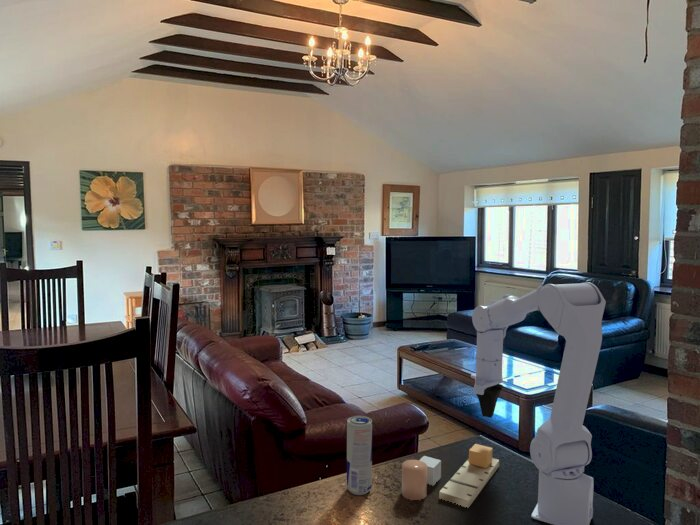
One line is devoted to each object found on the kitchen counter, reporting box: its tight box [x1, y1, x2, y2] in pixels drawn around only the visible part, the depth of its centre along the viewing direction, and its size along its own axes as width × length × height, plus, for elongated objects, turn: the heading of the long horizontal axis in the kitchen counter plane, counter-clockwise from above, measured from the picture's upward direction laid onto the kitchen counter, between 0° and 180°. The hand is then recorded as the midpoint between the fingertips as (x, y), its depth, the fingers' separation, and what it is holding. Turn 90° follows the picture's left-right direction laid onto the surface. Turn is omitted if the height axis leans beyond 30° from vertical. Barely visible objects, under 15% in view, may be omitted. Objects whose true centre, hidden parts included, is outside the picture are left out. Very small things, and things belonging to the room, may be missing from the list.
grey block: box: [419, 455, 442, 487], centre depth 111 cm, size 4×4×4 cm
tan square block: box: [468, 443, 494, 468], centre depth 114 cm, size 4×4×3 cm
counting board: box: [438, 457, 500, 509], centre depth 110 cm, size 6×20×2 cm, turn 147°
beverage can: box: [346, 415, 373, 496], centre depth 105 cm, size 5×5×15 cm
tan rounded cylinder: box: [401, 459, 428, 501], centre depth 105 cm, size 5×5×6 cm
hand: (487, 416), depth 119 cm, fingers closed
